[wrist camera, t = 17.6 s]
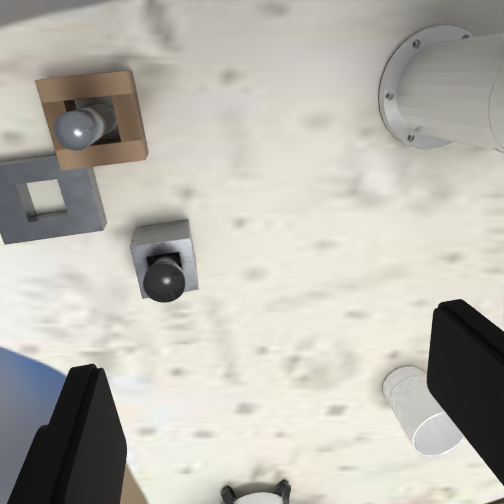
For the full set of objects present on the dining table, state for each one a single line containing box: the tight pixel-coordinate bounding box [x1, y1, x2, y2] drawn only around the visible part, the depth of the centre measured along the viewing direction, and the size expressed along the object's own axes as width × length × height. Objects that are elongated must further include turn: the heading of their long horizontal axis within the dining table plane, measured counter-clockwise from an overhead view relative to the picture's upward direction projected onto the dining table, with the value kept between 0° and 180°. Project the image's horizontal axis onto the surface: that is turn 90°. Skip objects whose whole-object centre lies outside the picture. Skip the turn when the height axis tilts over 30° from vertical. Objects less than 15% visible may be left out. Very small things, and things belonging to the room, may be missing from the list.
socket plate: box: [0, 155, 107, 245], centre depth 42 cm, size 10×8×2 cm
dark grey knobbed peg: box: [143, 252, 185, 302], centre depth 43 cm, size 4×4×9 cm
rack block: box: [35, 71, 148, 171], centre depth 39 cm, size 8×8×4 cm
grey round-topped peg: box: [53, 104, 116, 151], centre depth 36 cm, size 3×3×12 cm
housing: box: [130, 220, 199, 299], centre depth 45 cm, size 6×6×6 cm
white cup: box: [383, 366, 465, 457], centre depth 58 cm, size 8×8×10 cm
